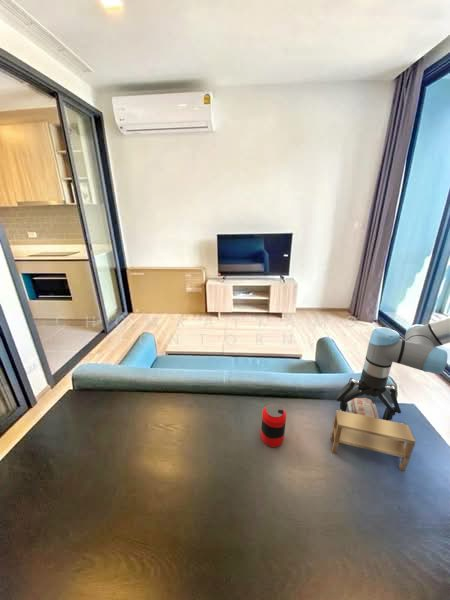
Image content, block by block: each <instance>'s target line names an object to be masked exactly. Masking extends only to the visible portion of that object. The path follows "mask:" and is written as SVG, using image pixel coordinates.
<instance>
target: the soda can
mask: <svg viewBox="0 0 450 600" xmlns="http://www.w3.org/2000/svg"><path fill="white" fill-rule="evenodd" d="M286 423H287V413H286V411H285V409H284V408H283V407H282V406H281V405H279V404H277V403H269V404H267V405H266V406H264V407H263V409H262V415H261V431H260V439H261V441H262V442H263V443H264V444H265V445H266V446H268V447H272V448H277V447H280V446H281V445H282V444H283V443H284V439H285V438H284V437H285V431H286Z"/></svg>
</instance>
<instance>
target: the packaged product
mask: <svg viewBox="0 0 450 600" xmlns="http://www.w3.org/2000/svg"><path fill="white" fill-rule="evenodd" d="M347 409H348V412H349V413H354V414H358V415H363V416H368V417H373V418H378V419H380V415H379V412H378V409H377V406H376V404H375V403H373V400H371V399H369V398H368V397H356V398H354V399H352V400H351V401H349V402H347Z"/></svg>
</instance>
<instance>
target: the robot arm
mask: <svg viewBox="0 0 450 600" xmlns="http://www.w3.org/2000/svg"><path fill="white" fill-rule="evenodd" d="M447 344H450V316H447V317H444V318H441V319H438V320H436V321H433V322H430V323H427V324H413V325H410V326H409V327H408V328H407V329H406V331H405V334H404V339H401V337H400V333H399V332H398V331H396V330H394V329H391V328H388V327H381V326H380V327H375V328H374V329H373V330H372V331H371V335H370V337H369V341H368V345H367V350H366V353H365V359H364V363H363V366H362V371H361V375H360V379H359V380H355V378H352V377H350V378H349V381H348V383H346V385H344V386H343V387H342V388H341V390H340V391H339V392H338V393H336V395H335V397H336V401H337V402H340V403H339V410H340V411H344V412H347V409H348V403H347V402H349V401H351V400H352V399H354V398H359V397H362V396H364V395H365V396H368V397H369V396H371V397H373V398H376V397H378V398H379V400H380V401H381V402H382V403H383V404H384V406H385V409H384V412H383V416H382V418H381V419H382V420H387V421H392V420H393V417H394V416H396V413H397V414H401V413H402V410H401V408H400V405H399V402H398V399H397V397H396V395H397V393H396V392H397V390H396V388H395V386H394V385H393V384H390V385H387V383H388V379H389V376H390V373H391V370H392V365H393V363H394V364H395V363H396V364H399V365H402V366H406V367H409V368H413V369H415V370H419V371H423V372H425V373H431V374H435V375H441V374H442V373H444V371H445V369H446V367H447V363H448V352H447V351H446V350H444V349H442V348H439V347H441V346H443V345H444V346H445V345H447ZM386 391H387V393H388V394H389V395H390V398H391V401H392V404H393V405H391V403H390V401H389V400H388V399H387V398H386V396H385V395H384V394H383V393H385V392H386Z"/></svg>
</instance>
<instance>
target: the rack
mask: <svg viewBox="0 0 450 600" xmlns="http://www.w3.org/2000/svg"><path fill="white" fill-rule="evenodd" d="M382 419H383V418H379V419H378V418H373V417H368V416H363V415H358V414H354V413H349V411H346V412H344V411H342V410H340V409H339V410H338V409H336V410H335V414H334V419H333V424H332V429H331V434H330V441H331V442H333V443H332V448H331V453H332V454H335V455H337V453H338V447H339V444H344V445H348V446H352V447H357V448H361V449H365V450H368V451H374V452H378V453H382V454H386V455H390V456H395V457H398V458H401V460H400V462H399V465H398V468H399V470H400V471H402V472H406V469H407V466H408V464H409V461H410V458H411V456H412V452H413V450H414V447H415V444H416V439H415V437H414V435H413V433H412V430H411V429H410V426H409V424H406V423H401V422H397V421H392V420H388V421H387V420H382ZM405 443H406V444H405Z"/></svg>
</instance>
